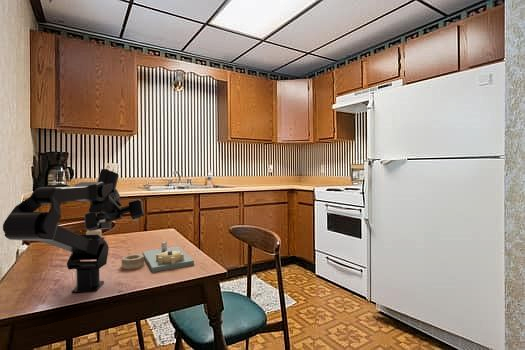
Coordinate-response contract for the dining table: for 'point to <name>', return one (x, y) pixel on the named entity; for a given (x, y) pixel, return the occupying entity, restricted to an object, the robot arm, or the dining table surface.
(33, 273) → the dining table surface
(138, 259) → the beige thick ring
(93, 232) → the candle
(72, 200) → the robot arm
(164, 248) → the peg
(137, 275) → the dining table surface
